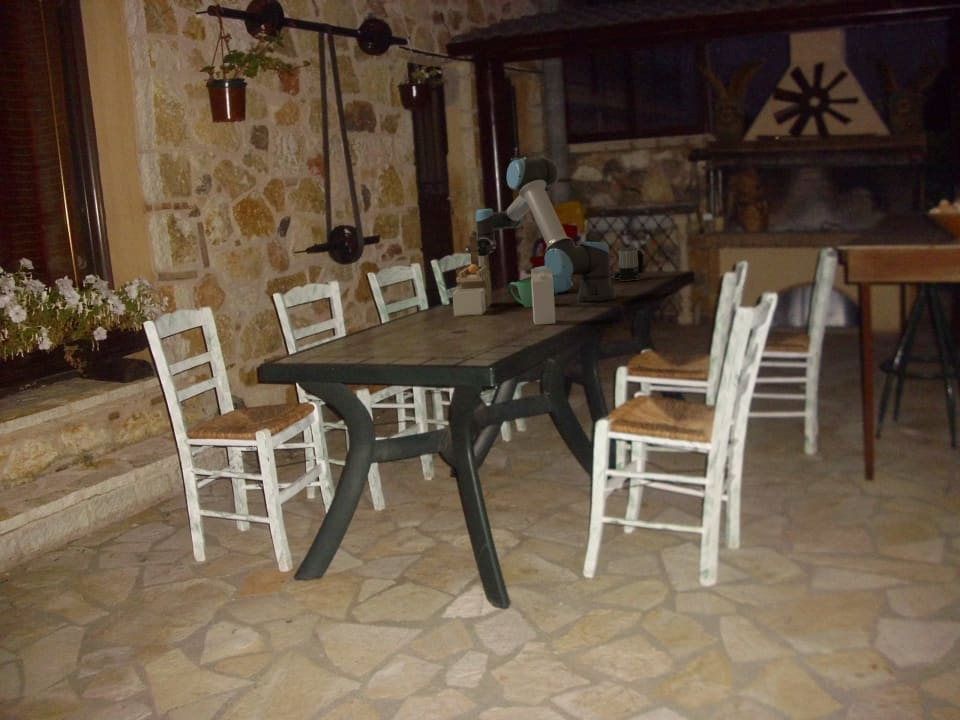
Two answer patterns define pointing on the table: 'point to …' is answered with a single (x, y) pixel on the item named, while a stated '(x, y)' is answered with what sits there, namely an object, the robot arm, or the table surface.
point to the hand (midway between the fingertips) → (474, 251)
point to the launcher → (476, 282)
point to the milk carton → (543, 296)
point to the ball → (473, 269)
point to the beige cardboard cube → (469, 302)
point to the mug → (522, 292)
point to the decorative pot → (560, 283)
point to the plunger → (474, 249)
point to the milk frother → (629, 263)
